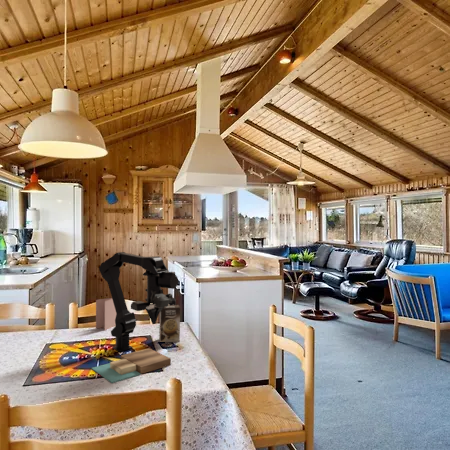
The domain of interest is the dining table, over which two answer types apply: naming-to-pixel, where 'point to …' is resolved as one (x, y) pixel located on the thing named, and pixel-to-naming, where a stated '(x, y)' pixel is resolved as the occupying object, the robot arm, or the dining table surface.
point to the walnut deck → (147, 360)
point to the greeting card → (105, 313)
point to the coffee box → (170, 324)
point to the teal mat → (113, 373)
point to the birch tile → (123, 366)
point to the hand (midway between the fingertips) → (153, 323)
